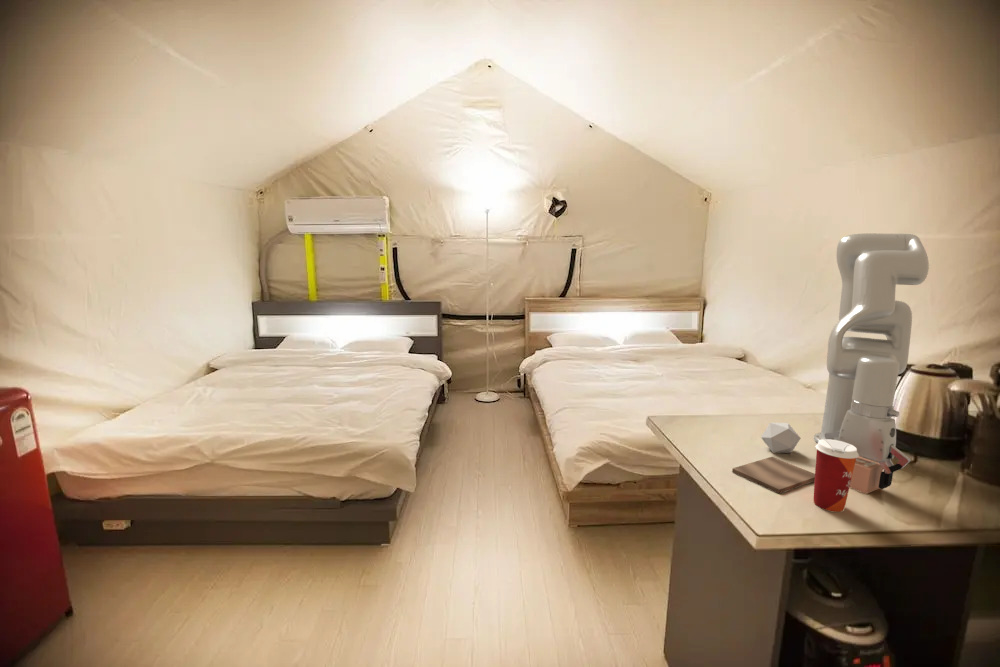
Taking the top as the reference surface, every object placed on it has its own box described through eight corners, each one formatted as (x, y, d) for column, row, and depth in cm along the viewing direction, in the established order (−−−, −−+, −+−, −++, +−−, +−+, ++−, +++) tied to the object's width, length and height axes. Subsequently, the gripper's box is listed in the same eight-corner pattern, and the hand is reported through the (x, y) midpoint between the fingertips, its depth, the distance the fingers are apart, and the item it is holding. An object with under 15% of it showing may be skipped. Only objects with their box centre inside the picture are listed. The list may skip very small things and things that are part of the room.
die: (786, 447, 138) (766, 418, 139) (812, 443, 130) (791, 412, 132) (770, 462, 134) (749, 432, 136) (795, 459, 127) (774, 427, 128)
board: (771, 460, 127) (771, 456, 127) (818, 479, 117) (819, 475, 117) (732, 472, 120) (732, 468, 120) (778, 493, 109) (779, 489, 109)
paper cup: (851, 518, 100) (861, 455, 97) (807, 507, 104) (816, 446, 101) (848, 502, 106) (857, 442, 104) (807, 492, 110) (815, 435, 108)
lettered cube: (851, 477, 118) (855, 454, 117) (879, 488, 113) (883, 463, 112) (838, 482, 116) (841, 458, 115) (866, 494, 110) (870, 468, 109)
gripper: (924, 418, 105) (911, 491, 108) (839, 397, 120) (829, 461, 123) (908, 423, 102) (895, 498, 105) (822, 401, 117) (813, 467, 120)
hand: (859, 478), depth 114 cm, fingers open, 9 cm apart
